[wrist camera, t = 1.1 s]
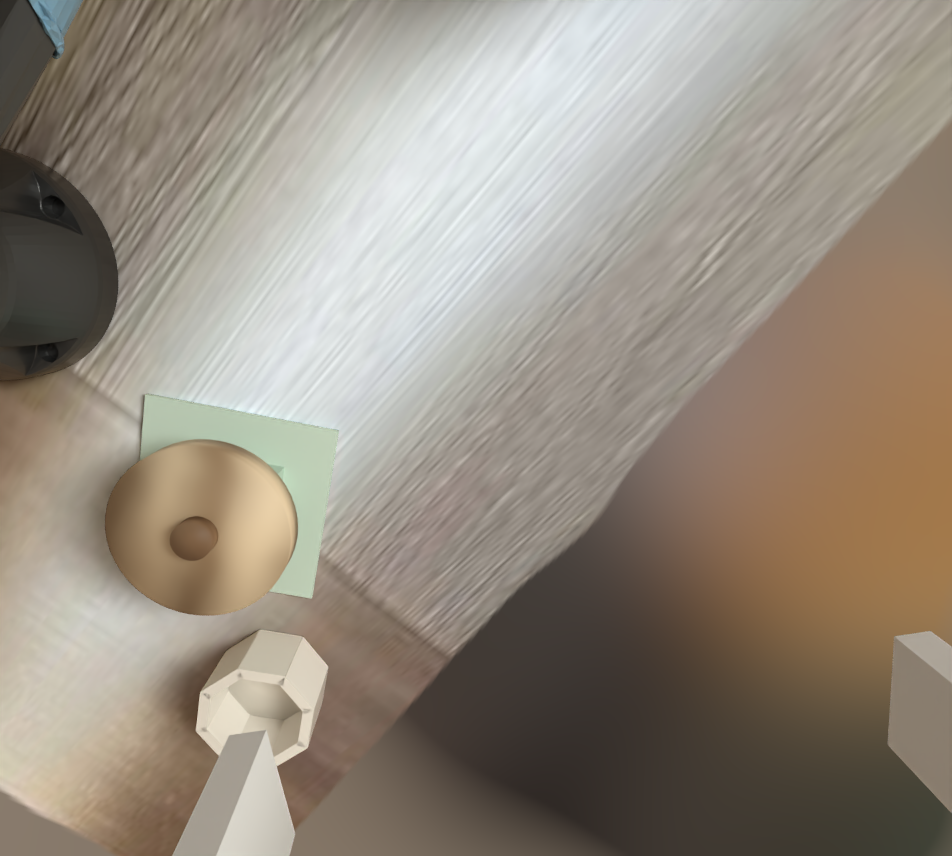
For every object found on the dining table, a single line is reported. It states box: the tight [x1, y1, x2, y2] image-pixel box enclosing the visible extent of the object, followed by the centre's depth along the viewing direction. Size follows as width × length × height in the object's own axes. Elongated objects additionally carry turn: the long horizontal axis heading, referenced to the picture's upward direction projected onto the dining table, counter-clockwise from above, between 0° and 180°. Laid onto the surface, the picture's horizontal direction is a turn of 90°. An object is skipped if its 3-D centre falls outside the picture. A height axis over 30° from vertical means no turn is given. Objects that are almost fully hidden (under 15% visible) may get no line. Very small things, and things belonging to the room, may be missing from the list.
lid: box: [105, 439, 298, 615], centre depth 39 cm, size 12×12×3 cm
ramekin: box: [196, 630, 328, 766], centre depth 46 cm, size 8×8×5 cm
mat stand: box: [140, 394, 339, 598], centre depth 43 cm, size 14×14×4 cm
